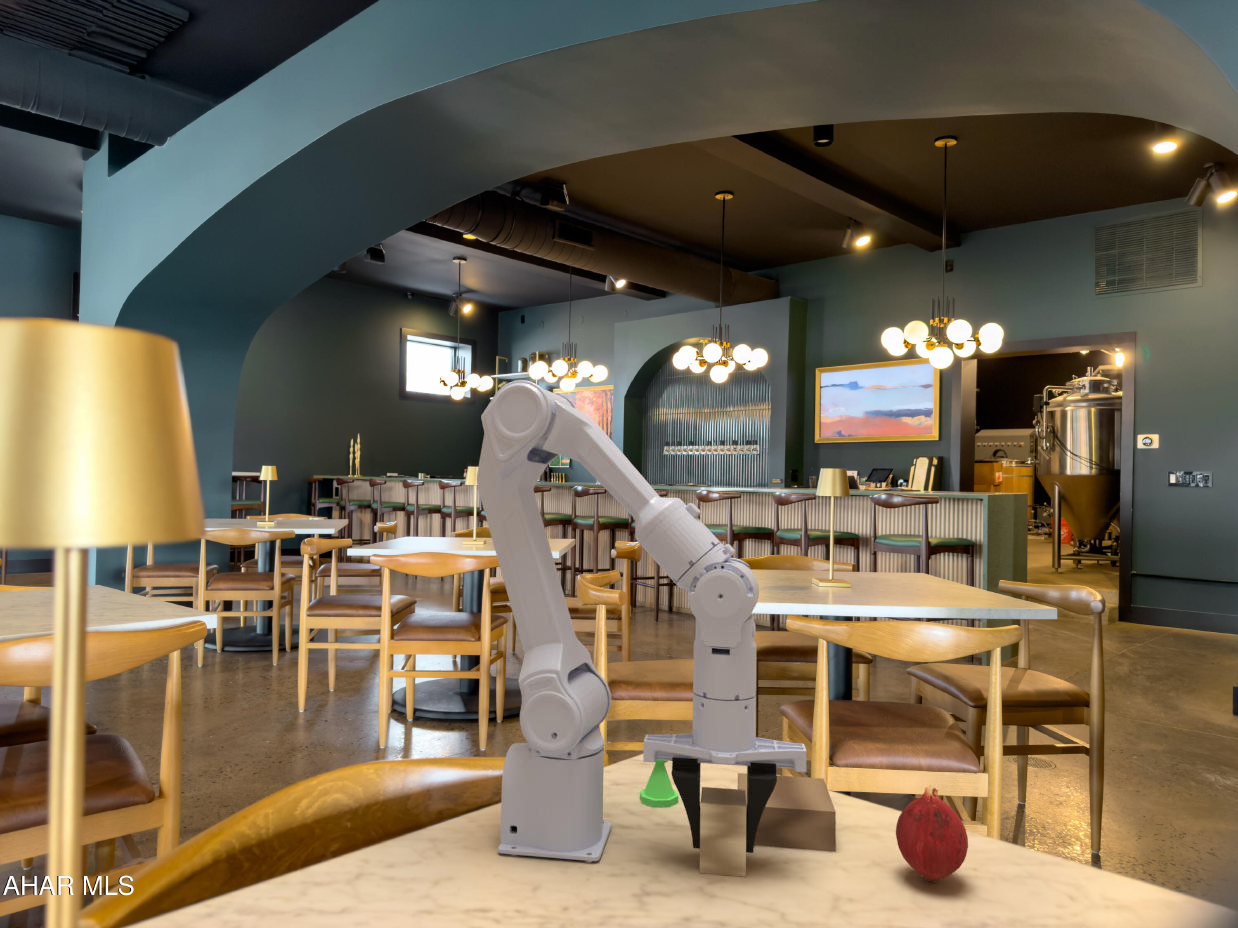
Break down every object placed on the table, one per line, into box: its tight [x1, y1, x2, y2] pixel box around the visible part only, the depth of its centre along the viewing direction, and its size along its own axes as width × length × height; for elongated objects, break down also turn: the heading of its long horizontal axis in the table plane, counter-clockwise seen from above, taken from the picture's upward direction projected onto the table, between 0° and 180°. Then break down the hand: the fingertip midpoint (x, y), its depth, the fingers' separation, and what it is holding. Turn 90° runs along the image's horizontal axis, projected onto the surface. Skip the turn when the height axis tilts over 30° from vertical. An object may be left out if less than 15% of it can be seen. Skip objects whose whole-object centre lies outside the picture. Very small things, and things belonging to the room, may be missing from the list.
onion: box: [895, 785, 969, 883], centre depth 66 cm, size 6×6×8 cm
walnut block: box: [737, 772, 837, 853], centre depth 77 cm, size 9×9×4 cm
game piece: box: [639, 760, 679, 809], centre depth 83 cm, size 4×4×6 cm
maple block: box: [699, 786, 747, 878], centre depth 69 cm, size 4×4×6 cm
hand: (722, 845), depth 69 cm, fingers closed on maple block, 4 cm apart
